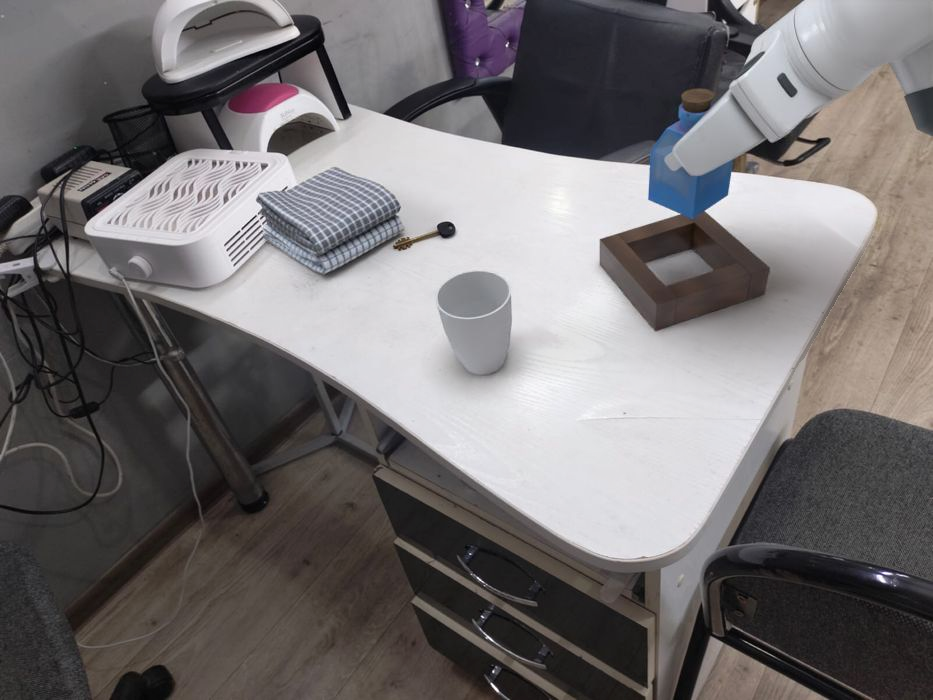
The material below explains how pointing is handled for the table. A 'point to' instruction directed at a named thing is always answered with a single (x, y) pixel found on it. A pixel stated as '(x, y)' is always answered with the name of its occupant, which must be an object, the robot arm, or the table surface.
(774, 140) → the robot arm
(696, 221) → the stand
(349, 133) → the table surface
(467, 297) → the cup
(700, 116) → the perfume bottle
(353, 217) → the towel
